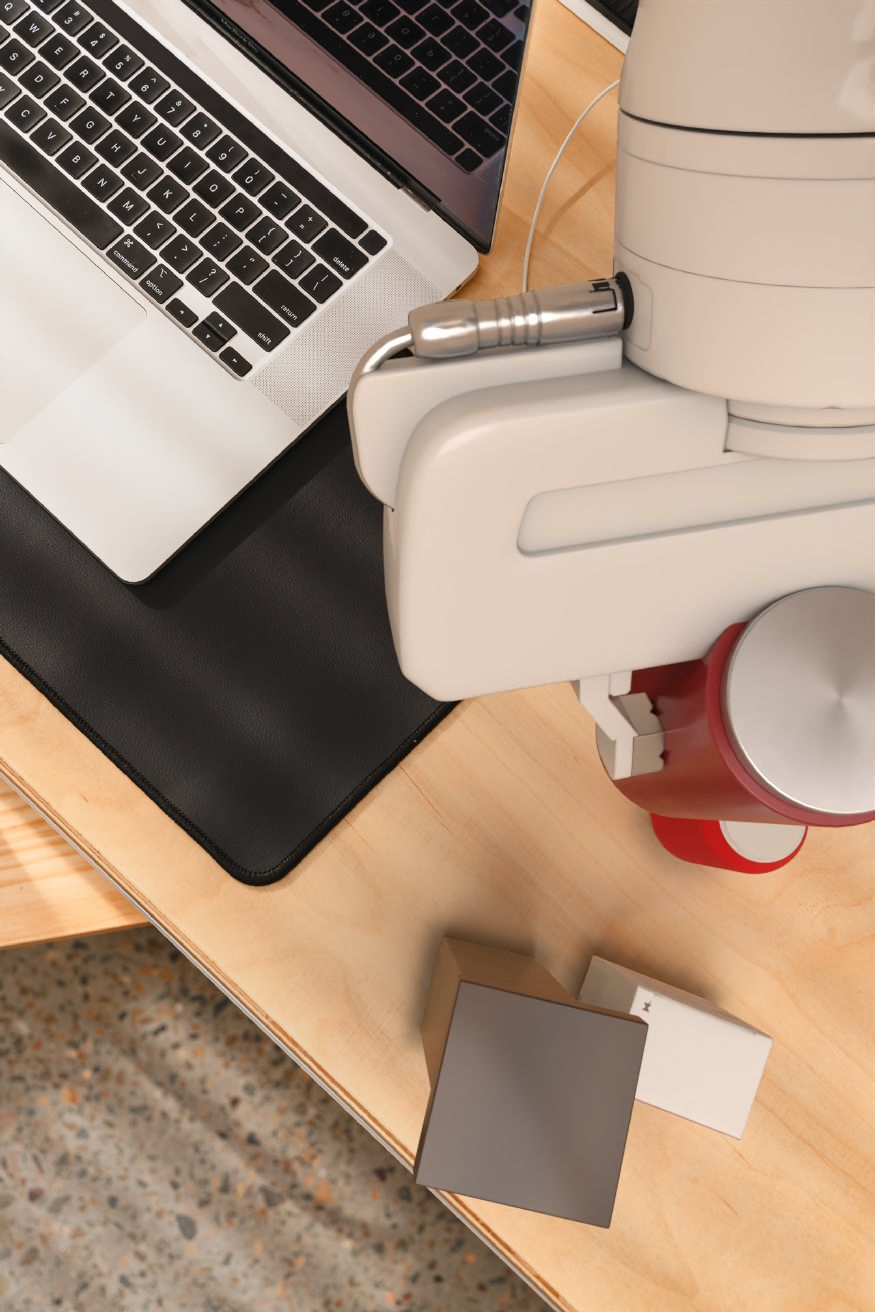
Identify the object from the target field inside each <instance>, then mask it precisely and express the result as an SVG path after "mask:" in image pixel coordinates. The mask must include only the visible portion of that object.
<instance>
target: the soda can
mask: <svg viewBox="0 0 875 1312" xmlns="http://www.w3.org/2000/svg"><path fill="white" fill-rule="evenodd" d="M644 692H645V693H646V695H647V696H648V698H649V700H650V702H651V703H652V705H653V714H655V715H657V716H658V717H659V719H660V722H661V724H662V726H663V728H664V731H665V750H664V751H663V752H662V754H661V755H662V757H663V759H664V769H663V770H661V771H658V772H653V773H647V774H642V775H637V776H632V777H627V778H622V779H617V780H612V779H611V778H610V776H609V774H608V771H607V769H606V767H605V765H604V762H603V760H602V758H601V755H600V753H599V749H598V745H597V739H596V738H595V741H596V742H595V743H596V748H597V752H598V753H597V754H598V757H599V759H600V762H601V765H602V767H603V770H604V771H605V773H606V775H607V777H608V779H609V780H610V781H611V783H612V785H614V787H615V788H616V789H617V790H618V792H620V793H621V794H622V795H623V796H624V797H625V798H626V799H628V800H629V801H630V802H631V803H633V804H634V805H636V806H637V807H639V808H640V809H643V810H644V811H647V812H649V813H650V812H651V813H655V814H658V815H661V816H666V817H672V818H688V819H703V820H719V821H735V822H750V823H766V824H781V825H797V826H808V827H813V828H814V827H815V828H831V829H832V828H835V829H839V828H849V827H855V826H860V825H864V824H867V823H872V822H874V821H875V596H873V595H871V594H868V593H865V592H861V591H858V590H853V589H848V588H840V587H822V588H813V589H808V590H804V591H800V592H797V593H794V594H792V595H789V596H787V597H785V598H783V599H781V600H779V601H777V602H775V603H773V604H771V605H770V606H768V607H767V608H765V609H764V610H762V611H761V612H759V613H758V614H757V615H755V616H754V617H753V618H752V619H751V620H750V621H746V622H740V623H735V624H732V625H730V626H729V627H727V628H726V629H725V630H724V631H723V633H722V634H721V635H720V636H719V638H718V639H717V640H716V641H715V643H714V644H713V645H712V646H711V648H710V649H709V651H708V652H707V653H706V655H705V656H704V657H703V658H702V659H697V660H691V661H685V662H679V663H674V664H668V665H662V666H656V667H650V668H644V669H638V670H632V677H631V690H630V691H629V692H628V693H627V694H624V695H630V694H637V693H644ZM619 696H623V695H619Z"/></svg>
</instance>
